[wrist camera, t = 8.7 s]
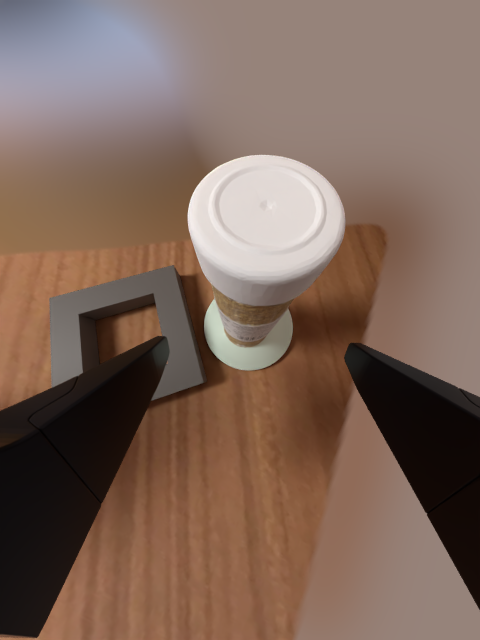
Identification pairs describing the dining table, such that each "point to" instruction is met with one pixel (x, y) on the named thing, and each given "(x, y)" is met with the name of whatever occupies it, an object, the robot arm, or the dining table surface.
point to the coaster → (248, 356)
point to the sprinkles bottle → (263, 238)
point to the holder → (116, 297)
